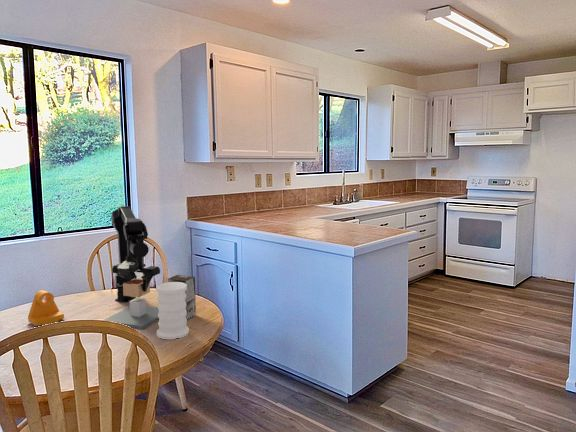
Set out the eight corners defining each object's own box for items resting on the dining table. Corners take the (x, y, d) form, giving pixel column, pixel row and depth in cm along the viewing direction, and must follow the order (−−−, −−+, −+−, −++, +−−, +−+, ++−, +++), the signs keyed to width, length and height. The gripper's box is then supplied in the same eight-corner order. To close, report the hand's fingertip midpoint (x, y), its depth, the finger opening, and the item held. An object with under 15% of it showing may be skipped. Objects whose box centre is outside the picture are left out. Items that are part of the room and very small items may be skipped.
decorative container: (163, 342, 156) (161, 292, 153) (152, 332, 165) (150, 284, 162) (194, 335, 162) (193, 287, 160) (181, 325, 172) (180, 279, 169)
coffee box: (196, 315, 182) (195, 276, 180) (186, 320, 177) (185, 280, 174) (178, 311, 186) (177, 274, 184) (168, 316, 180) (167, 278, 178)
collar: (123, 295, 176) (122, 283, 175) (134, 290, 183) (134, 278, 182) (139, 297, 174) (138, 284, 173) (150, 292, 180) (149, 280, 180)
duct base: (134, 306, 192) (134, 290, 191) (171, 311, 186) (171, 294, 185) (102, 323, 173) (101, 305, 172) (142, 329, 167) (141, 310, 166)
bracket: (35, 328, 168) (33, 297, 166) (28, 323, 173) (26, 293, 171) (65, 320, 176) (63, 290, 174) (57, 315, 181) (55, 287, 179)
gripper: (101, 255, 171) (103, 294, 173) (143, 258, 165) (144, 299, 168) (120, 249, 182) (122, 286, 184) (160, 252, 176) (161, 290, 178)
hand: (136, 290), depth 178 cm, fingers closed on collar, 7 cm apart
